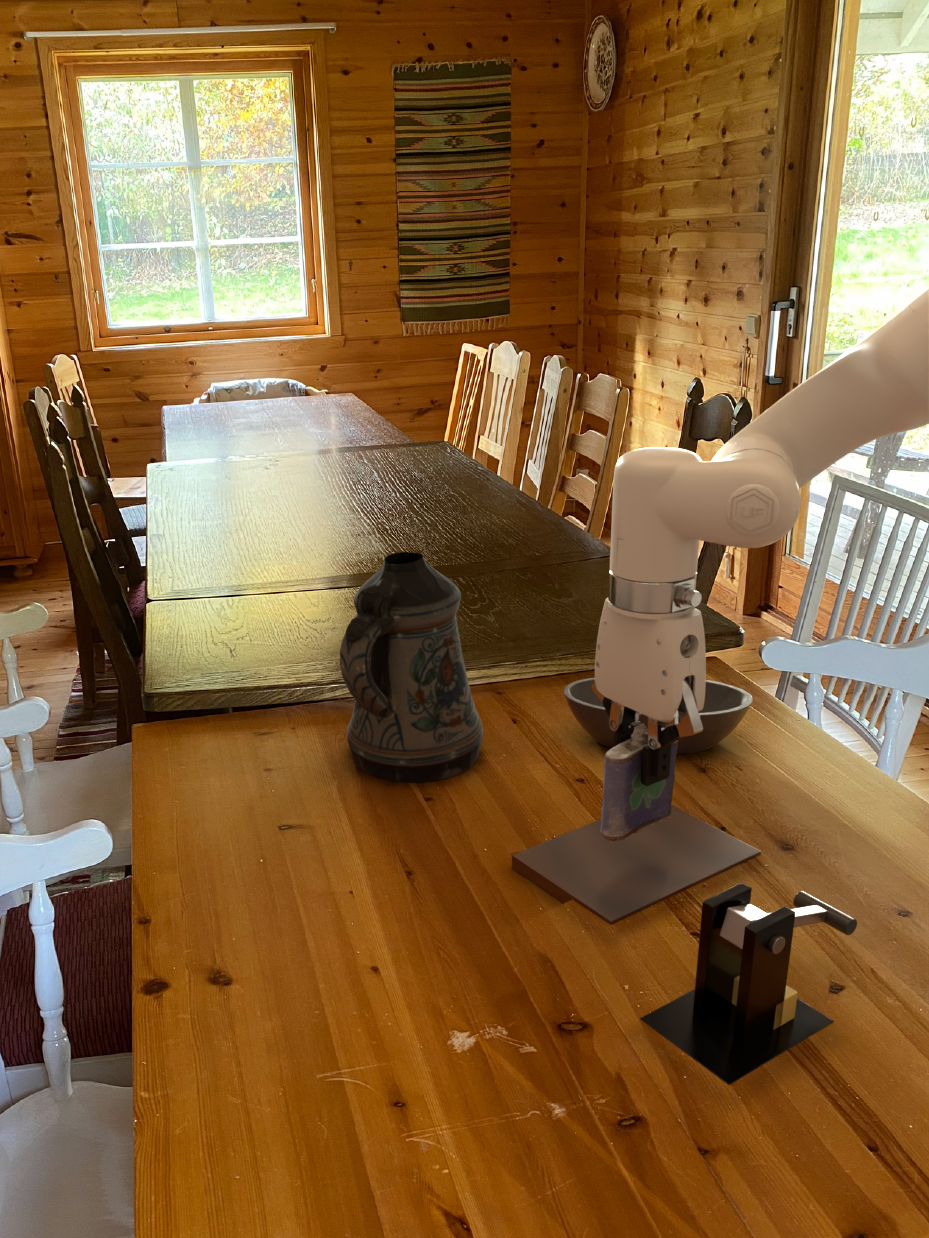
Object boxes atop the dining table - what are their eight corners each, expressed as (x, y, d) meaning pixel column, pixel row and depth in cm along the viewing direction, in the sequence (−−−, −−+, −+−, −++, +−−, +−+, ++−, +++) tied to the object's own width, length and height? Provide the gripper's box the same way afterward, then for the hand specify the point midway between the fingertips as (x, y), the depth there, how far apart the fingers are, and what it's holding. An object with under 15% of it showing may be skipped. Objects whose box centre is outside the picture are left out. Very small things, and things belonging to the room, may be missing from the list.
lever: (799, 910, 91) (807, 884, 91) (852, 940, 88) (861, 913, 87) (704, 927, 85) (712, 898, 84) (757, 959, 81) (766, 930, 80)
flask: (614, 845, 104) (619, 743, 100) (591, 833, 106) (595, 733, 102) (678, 814, 109) (686, 715, 105) (654, 803, 111) (661, 706, 107)
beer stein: (485, 725, 141) (484, 535, 131) (478, 799, 124) (476, 586, 114) (358, 723, 143) (347, 536, 134) (333, 795, 126) (319, 586, 116)
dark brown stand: (741, 974, 93) (754, 855, 89) (832, 1033, 86) (852, 907, 82) (638, 1030, 88) (646, 905, 83) (727, 1098, 81) (742, 966, 76)
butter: (743, 985, 90) (746, 960, 89) (794, 1018, 86) (798, 992, 85) (721, 997, 89) (724, 971, 88) (772, 1031, 85) (775, 1005, 84)
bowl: (565, 716, 143) (566, 671, 140) (743, 724, 138) (747, 678, 136) (559, 758, 132) (560, 710, 129) (752, 768, 127) (757, 719, 125)
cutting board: (655, 808, 120) (656, 796, 119) (759, 864, 109) (761, 851, 108) (511, 868, 110) (511, 855, 110) (610, 935, 99) (611, 921, 99)
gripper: (754, 604, 93) (735, 795, 101) (617, 562, 106) (609, 734, 114) (692, 623, 90) (677, 820, 97) (558, 577, 103) (553, 754, 110)
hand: (640, 772), depth 105 cm, fingers closed on flask, 3 cm apart
